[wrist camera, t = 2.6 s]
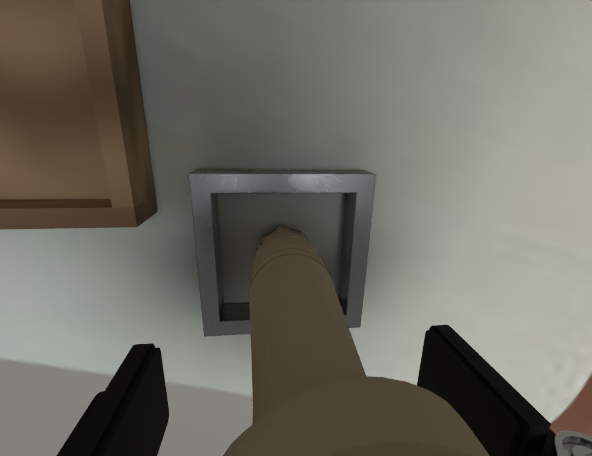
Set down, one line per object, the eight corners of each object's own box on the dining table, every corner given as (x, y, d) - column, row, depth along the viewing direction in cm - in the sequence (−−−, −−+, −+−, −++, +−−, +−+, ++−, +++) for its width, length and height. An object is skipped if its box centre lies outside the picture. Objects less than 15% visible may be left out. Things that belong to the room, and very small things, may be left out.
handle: (230, 277, 19) (146, 680, 5) (266, 188, 18) (290, 411, 4) (296, 298, 20) (379, 680, 6) (336, 216, 19) (568, 474, 5)
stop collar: (196, 169, 17) (188, 173, 15) (363, 170, 18) (376, 174, 16) (209, 317, 20) (204, 336, 18) (351, 309, 21) (360, 327, 19)
